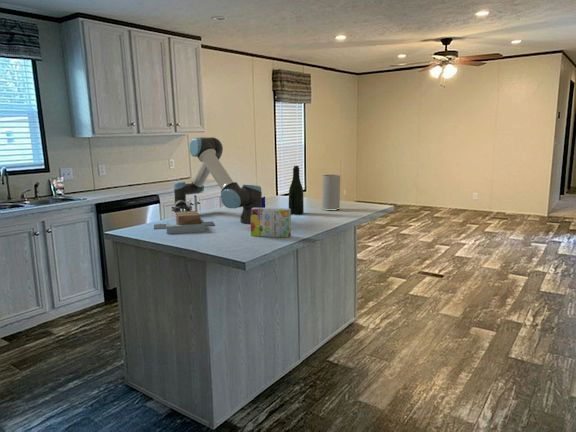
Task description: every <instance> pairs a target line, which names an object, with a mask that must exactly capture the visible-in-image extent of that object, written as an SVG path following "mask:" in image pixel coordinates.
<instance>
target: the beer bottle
mask: <svg viewBox="0 0 576 432" xmlns="http://www.w3.org/2000/svg"><path fill="white" fill-rule="evenodd" d="M304 201H305V199H304V189H303V184H302V183H301V180H300V167H299V165H294V166H293V167H292V180H291V183H290V185H289V190H288V209H291V215H293V214H299V215H302V213H303V214H304V210H305V209H304V207H305V206H304V204H305V203H304Z"/></svg>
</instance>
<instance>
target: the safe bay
mask: <svg viewBox="0 0 576 432" xmlns="http://www.w3.org/2000/svg"><path fill="white" fill-rule="evenodd" d="M200 222H201V224H186V225H177V224H173V225H172V224H170V222H169V221H166V222H165V224H166V234H169V235H172V234H182V233H184V234H185V233H186V234H187V233H202V232H204V233H205V232H206V226H205V223H204V222H205V221H204V220H203V219H200ZM169 224H170V225H169Z"/></svg>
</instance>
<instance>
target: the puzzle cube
mask: <svg viewBox="0 0 576 432" xmlns="http://www.w3.org/2000/svg"><path fill="white" fill-rule="evenodd" d="M262 208H266V196H265V195H264V196H262Z"/></svg>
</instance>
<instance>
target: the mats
mask: <svg viewBox="0 0 576 432" xmlns="http://www.w3.org/2000/svg"><path fill="white" fill-rule="evenodd" d="M204 223H205V227H215V226H216V225H215V223H214V221H212V220H211V221H204ZM169 225H171V224H170V223H169ZM162 229H166V223H159V224H157V223H156V224H154V225H153V230H162ZM166 230H167V229H166Z"/></svg>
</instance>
